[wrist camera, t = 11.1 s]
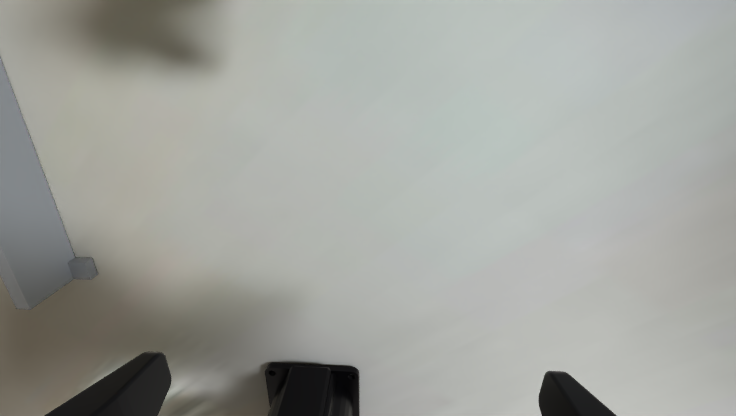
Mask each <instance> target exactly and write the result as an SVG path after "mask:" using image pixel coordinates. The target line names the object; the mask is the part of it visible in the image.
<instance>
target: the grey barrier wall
mask: <svg viewBox="0 0 736 416" xmlns="http://www.w3.org/2000/svg"><path fill="white" fill-rule="evenodd" d="M97 274H98V273H97V270H96V268H95V265H94V262H93V259H92V258H76V257H75V255H74V253H73V250H72V247H71V245H70V242H69V239H68V237H67V234H66V231H65V229H64V226H63V223H62V221H61V218H60V215H59V213H58V210H57V207H56V205H55V202H54V199H53V197H52V194H51V191H50V189H49V186H48V183H47V181H46V178H45V175H44V173H43V170H42V167H41V165H40V162H39V159H38V157H37V154H36V151H35V149H34V146H33V143H32V141H31V138H30V135H29V133H28V130H27V127H26V125H25V122H24V119H23V117H22V114H21V111H20V109H19V106H18V103H17V101H16V98H15V95H14V93H13V90H12V87H11V85H10V82H9V79H8V77H7V74H6V71H5V69H4V66H3V63H2V61H1V58H0V276H1V278H2V280H3V282H4V284H5V286H6V288H7V290H8V292H9V294H10V296H11V299H12V301H13V303H14V305H15V307H16V309H27V310H31V309H32V308H33V307H35V306H36V305H38V304H39V303H41V302H42V301H43V300H45V299H46V298H48V297H49V296H50V295H52V294H53V293H55V292H56V291H57V290H59V289H60V288H62V287H63V286H65V285H66V284H67V283H69V282H70V281H72V280H73V279H86V280H91V279H92V278H93V277H95V276H96V275H97Z"/></svg>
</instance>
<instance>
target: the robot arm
mask: <svg viewBox="0 0 736 416" xmlns="http://www.w3.org/2000/svg"><path fill="white" fill-rule="evenodd" d="M350 374H352V375H350ZM265 376H266V382H267V389H268V396H269V402H270V410H269V413H268V416H359V370H358V369H357V368H355V367H342V366H322V365H301V364H280V363H270V364H268V366H267V368H266V370H265ZM170 385H171V374H170V370H169V367H168V363H167V360H166V357H165V355H164V354H163V353H162V352H144V353H142V354H140V355H139V356H137V357H136V358H134V359H133V360H131V361H129V362H128V363H126V364H125V365H123V366H122V367H120V368H118V369H117V370H115V371H114V372H112V373H111V374H109V375H107V376H106V377H104V378H103V379H101V380H100V381H98V382H97V383H95V384H93V385H92V386H90V387H89V388H87V389H86V390H84V391H82V392H81V393H79V394H78V395H76V396H75V397H73V398H71V399H70V400H68V401H67V402H65V403H64V404H62V405H60V406H59V407H57V408H56V409H54V410H53V411H51V412H49V413H48V414H46V415H45V416H157V415H158V413H159V411H160V408H161V406H162V404H163V402H164V399H165V397H166V395H167V392H168V390H169V388H170ZM539 407H540V410H541V414H542V416H616V415H615V414H614V413H613V412H612V411H611V410H609V409H608V408H607V407H606V406H605V405H604V404H603V403H601V402H600V401H599V400H598V399H597V398H596V397H594V396H593V395H592V394H591V393H590V392H589V391H588V390H586V389H585V388H584V387H583V386H582V385H581V384H580V383H578V382H577V381H576V380H575V379H574V378H573V377H571V376H570V375H569V374H568V373H566V372H561V371H548V372H546V373H545V376H544V379H543V383H542V386H541V390H540V393H539Z"/></svg>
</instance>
